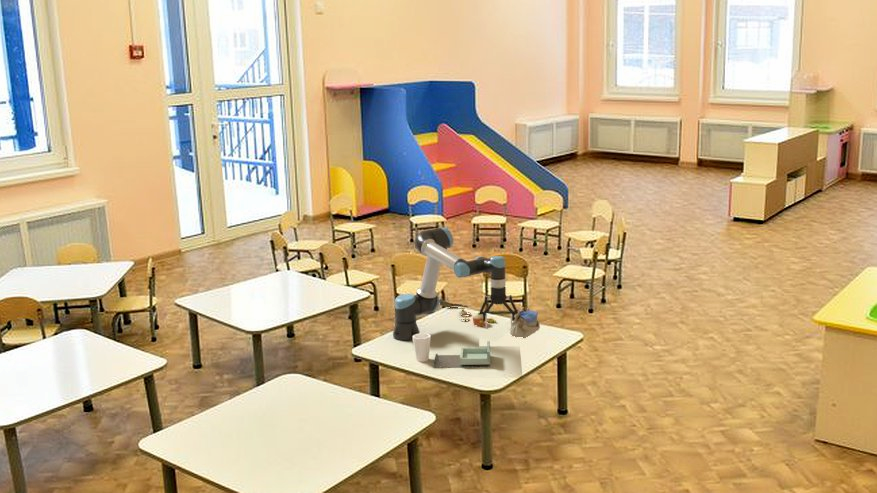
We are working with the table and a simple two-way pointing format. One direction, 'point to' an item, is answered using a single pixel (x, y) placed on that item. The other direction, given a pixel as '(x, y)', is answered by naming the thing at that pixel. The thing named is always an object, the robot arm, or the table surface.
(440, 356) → the rail
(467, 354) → the shallow mint tray
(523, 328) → the grey and blue lump
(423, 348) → the foam cup
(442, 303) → the bird
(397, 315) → the robot arm
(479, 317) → the toy tea set
